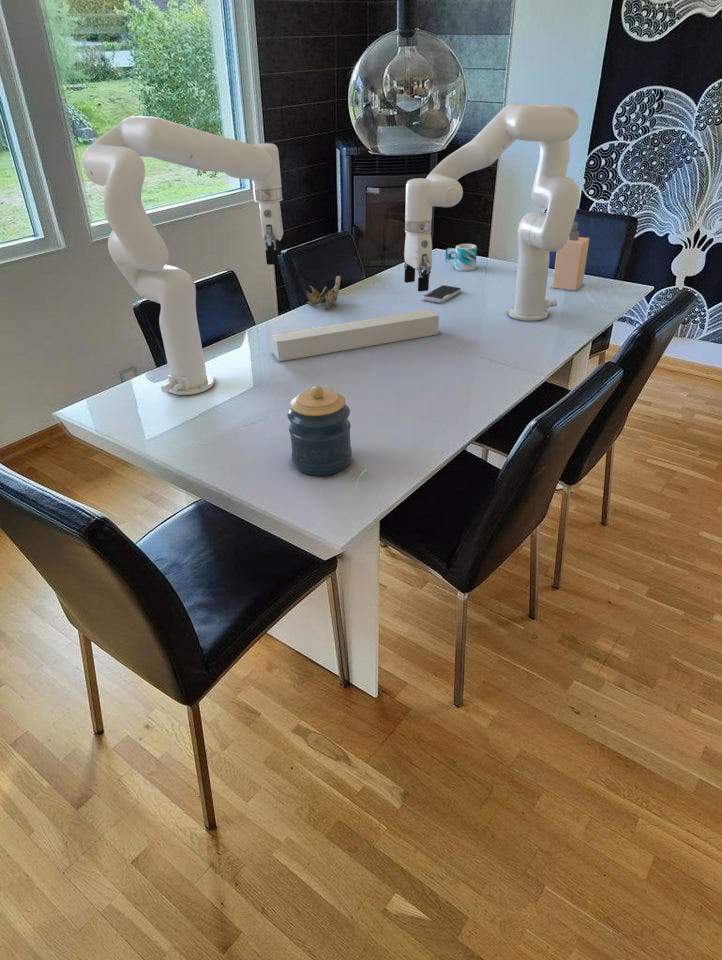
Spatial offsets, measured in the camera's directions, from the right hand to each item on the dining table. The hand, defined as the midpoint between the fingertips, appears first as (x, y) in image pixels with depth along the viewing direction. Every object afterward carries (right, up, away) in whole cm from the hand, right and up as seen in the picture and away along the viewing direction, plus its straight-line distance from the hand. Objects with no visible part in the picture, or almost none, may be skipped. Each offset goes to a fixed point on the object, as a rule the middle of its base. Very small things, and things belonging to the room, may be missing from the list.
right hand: (416, 286), depth 200 cm
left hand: (-41, +5, -10) cm, 42 cm away
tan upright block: (+57, +11, +41) cm, 71 cm away
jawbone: (-28, +4, +35) cm, 45 cm away
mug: (+23, +27, +68) cm, 76 cm away
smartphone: (+12, +7, +38) cm, 41 cm away
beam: (-17, -17, +3) cm, 24 cm away
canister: (-25, -54, -54) cm, 80 cm away
